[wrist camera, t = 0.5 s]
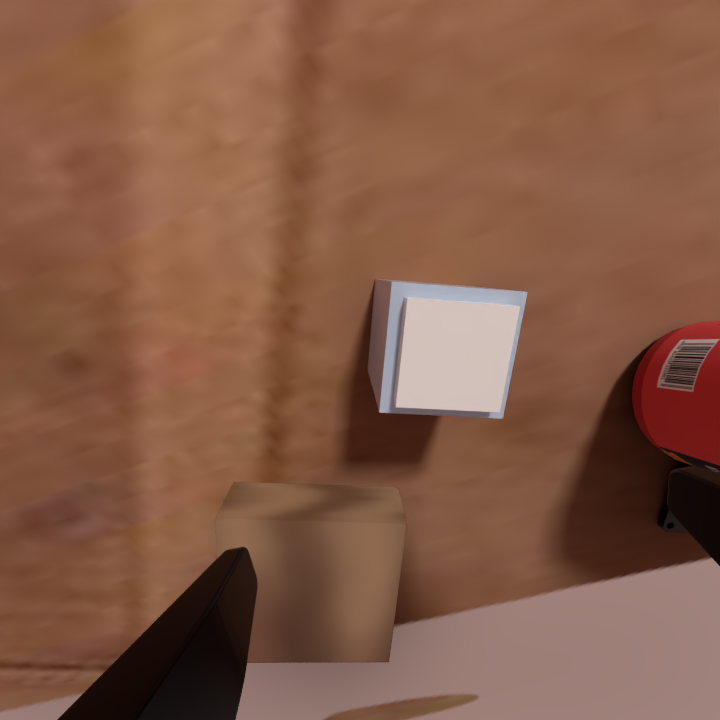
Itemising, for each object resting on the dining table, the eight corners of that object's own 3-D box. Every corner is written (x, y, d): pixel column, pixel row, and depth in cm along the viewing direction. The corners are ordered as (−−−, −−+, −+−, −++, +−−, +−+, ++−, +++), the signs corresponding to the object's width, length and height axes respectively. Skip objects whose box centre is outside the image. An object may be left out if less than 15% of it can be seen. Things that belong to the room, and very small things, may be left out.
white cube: (467, 285, 18) (536, 292, 12) (453, 374, 19) (509, 425, 13) (375, 278, 18) (394, 282, 11) (367, 369, 19) (381, 419, 12)
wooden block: (396, 483, 21) (407, 523, 18) (382, 606, 24) (388, 662, 20) (235, 478, 20) (215, 518, 17) (238, 605, 23) (220, 662, 20)
